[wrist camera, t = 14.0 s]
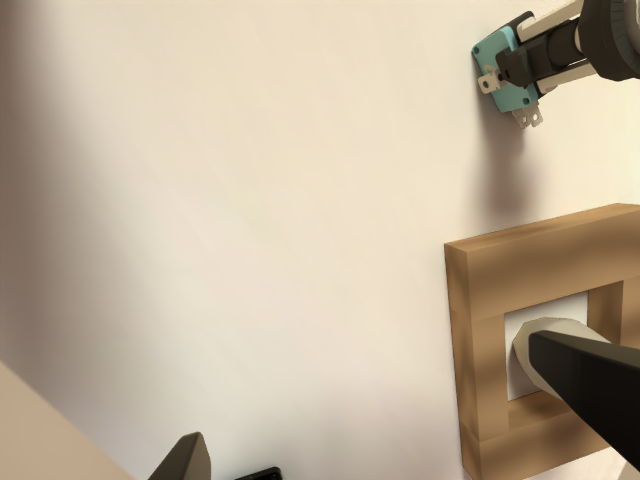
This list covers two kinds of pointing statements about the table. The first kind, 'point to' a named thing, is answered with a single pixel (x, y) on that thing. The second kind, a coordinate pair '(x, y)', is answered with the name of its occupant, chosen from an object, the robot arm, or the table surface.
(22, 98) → the table surface
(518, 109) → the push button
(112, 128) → the table surface
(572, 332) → the salt shaker
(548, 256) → the wooden flat frame
